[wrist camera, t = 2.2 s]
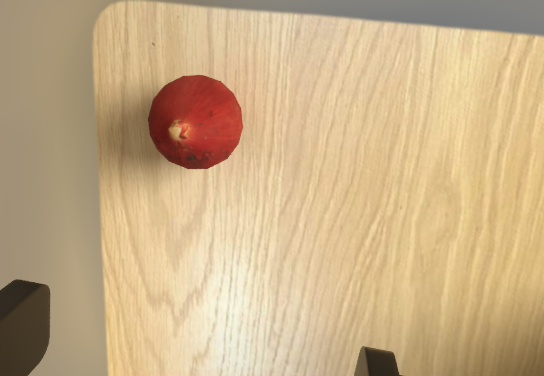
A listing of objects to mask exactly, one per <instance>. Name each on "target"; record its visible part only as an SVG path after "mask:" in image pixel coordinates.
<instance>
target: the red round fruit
mask: <svg viewBox="0 0 544 376" xmlns="http://www.w3.org/2000/svg"><path fill="white" fill-rule="evenodd" d="M148 122H149V131H150V136H151V138H152V140H153V142H154V144H155V146H156V148H157V150H158V151H159V152H160V153H161V154H162V155H163V156H164V157H165V158H166V159H167V160H168V161H169V162H172V163H174V164H177V165H180V166H182V167H184V168H187V169H208V168H210V167H212V166H214V165H216V164H218V163H220V162H222V161H224V160H226V159H227V158H228V157H229V156H230V154H231V153H232V152H233V150H234V149H235V148H236V146H237V145H238V143H239V140H240V136H241V132H242V129H243V124H242V115H241V108H240V106H239V104H238V102H237V100H236V98H235V96H234V94H233V93H232V92H231V91H230V90H229V89H228V88H227V87H226V86H225V85H224V84H223V83H222V82H221V81H218V80H215V79H212V78H209V77H206V76H203V75H194V76H182V77H180V78H178V79H176V80H174V81H172V82H170V83H168V84H167V85H165V86H164V87H163V88H162V89H161V91H160V92H159V93H158V94H157V96H156V97H155V98H154V99H153V102H152V106H151V109H150V113H149V117H148Z"/></svg>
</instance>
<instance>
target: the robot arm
mask: <svg viewBox="0 0 544 376" xmlns="http://www.w3.org/2000/svg"><path fill="white" fill-rule="evenodd" d="M49 337H50V289H49V287H48V286H47V285H45V284H39V283H34V282H29V281H23V280H14V281H12V282H11V283H10V284H8V285H7V286H5V287H4V288H3V289H2V290H0V376H28V375H29V374H30V372H31V371H32V370H33V369H34V368H35V367H36V366H37V365H38V364H39V362H40V361H41V360H42V358H43V356H44V354H45V352H46V350H47V347H48V344H49ZM354 376H402V375H399V372H398V368H397V363H396V359H395V355H394V353H393V352H390V351H385V350H380V349H375V348H369V347H364V346H363V347H362V348H361V350H360V353H359V357H358V361H357V365H356V369H355V373H354Z"/></svg>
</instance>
